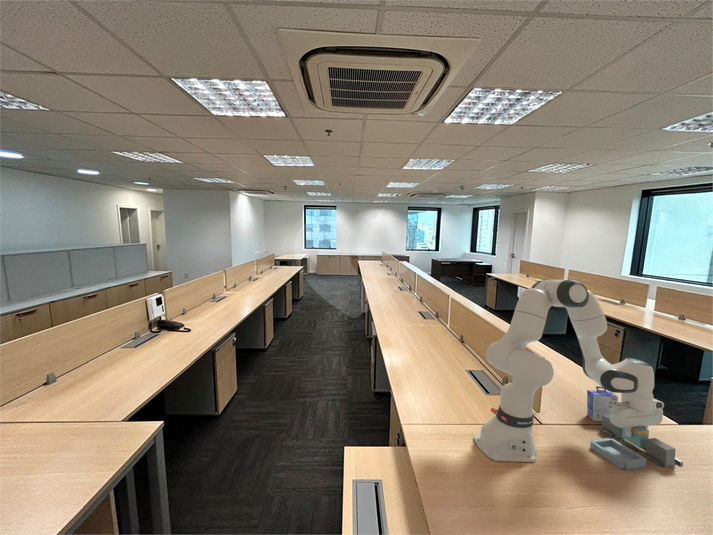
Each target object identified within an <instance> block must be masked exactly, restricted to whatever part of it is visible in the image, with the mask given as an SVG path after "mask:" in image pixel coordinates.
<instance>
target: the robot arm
mask: <svg viewBox="0 0 713 535" xmlns="http://www.w3.org/2000/svg"><path fill="white" fill-rule="evenodd" d="M551 307H555V308H556V307H557V308H565V309H566V311H567V314H568V317H569V319H570V320H569V321H570V323H571V325H572V328H573V329H574V331H575V334H576V337H577V341H578V344H579V347H580V351H581V355H582V365H581V368H582V371H583V373H584V375H585V376H586V377H587V378H589V379H590V380H591V381H594V382H595V383H597V385H599V387H603V388H604V389H606V391H607V392H612V393H613V394H615V393H616V394H617V393H618V394H620V395H621V396H620V401H618V402H617V403H616V404H615V405H614V406H613V407H612V410H611V415H610V422H611V423H612V424H613V425H615V426H617V427H619V428H624V429H625V434H626V435H627V436H628V437H633V434H634V433H633V432H631V429H632V427H636V426H642V427H644V428H646V429H648V428H649V426H654V425H660V424H661V423H662V421H663V419H664V418H663V416H664V410H663V409H664V407H665V403H664V402H663V401H661V400H658V399H657V398H654V394H653V390H654V388H655V374H654V369H653V367H652V366H651V365H650V364H649V363H647V362H645V361H643V360H641V359H640V360H639V359H636V358H633V357H632V358H631V357H625V359H624V360H622V361H620V362H619V361H618V362H616V363H613V364H612V363H610V362H609V361H608V360H607V359H606V358H604V356H603V355H602V352H601V349H600V346H599V342H598V339H597V338H598V337H600V336H602V335H604V334H605V333H606V332H607V330H608V322H607V318H606V316H605V313H604V311H603V309H602V307H601V304H600V302H599V301H598V299H597V297H596V296H595V294H594V293H593V292H592V291H591V290H588V288H587V287H586V286H585V285H584V283H582V282H581V281H578V280H575V279H556V278H555V279H554V278H553V279H547V280H546V279H544V280H543V279H542V280H540V281H536V282H535V283H534V284H533V285H532V286H531V288H527V289H524V290H523V291H522V293H521V294H520V297H519V299H518V300H517V303H516V306H515V309H514V312H513V316H512V318H511V322H510V324H509V326H508V329H507V330H506V332H505V334H504V335H503V336H502V337H501V338H500V339H499V340H497V341H494V342H492V343H491V344H489V345H488V347H487V348H486V351H485V358H486V360H487V362H488V363H489V364H490V365H491V366H493V367H494V368H495V369H497V370H499V371H502V372H504V373H506V374H508V375H510V376H511V378H512V379H511V380H512V381H511V382H509V383H506V384H504V385H503V386H502V387H501V389H500V398H499V399H500V401H499V402H500V403H499V406H498V409H496V407H495V406H492V407H491V408H490V411H491V413H493V414H494V415H495V416H494V417H492V418H491V419H489V420H488V421H487V422H486V423H484V424H483V425H482V426H481V429H480V433H478V434H475V435H473V436H474V437H473V438H474V439H473V440H474V443H475V444H477V445H476V446H477V447H478V449H479V450H480V451H481V452H482V453H484V455H485V456H487V457H488V458H489V459H491V460H493V461H495V462H517V463H518V462H521V463H522V462H526V463H535V462H536V455H537V447H536V442H535V439H534V438H535V437H534V430H533V426H534V422H535V420H534V413H533V404H534V396H535V394H536V391H537V390H538V389H540V388H541V387H544V386H546V385H548V384H550V383H551V381H552V380H553V378H554V373H555V372H554V367H553V365H552V363H551V362H550V361H549V360H548V359H546V358H545V357H542V356H541V355H539V354H536V353H534V352H531V351H528V350H525V348H526V346H527V345H528V344H530V343H533V342H537V341H540V339H541V338H542V337H543V332H544V329H545V326H546V322H547V317H548V313H549V310H550V308H551ZM604 389H603V390H604Z"/></svg>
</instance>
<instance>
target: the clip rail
mask: <svg viewBox="0 0 713 535" xmlns="http://www.w3.org/2000/svg"><path fill="white" fill-rule="evenodd" d="M600 432H602V433H603V434H605V435H607V436H608V437H610V438H615V437H614V434H613V433H612V432H610V431H608V430H607V429H605V428H603V427H602V426H601V427H600ZM620 443H621V444H622V445H624V446H626V447H627V448H629V449H631V450H632V451H634V452H635V451H637V446H636V445H634V444H632V443H631V442H629V441H627V440H626V439H624V438H622V439H621V442H620ZM643 448H644V449H645V450H646V447H643ZM644 458H646V460H647V461H650V462H651V463H653V464H655V465H656V466H658V467H663V466H662V462H661V461H659V460H658V459H656V458H654V457H653V456H651V455H649V454H647V453H646V452H645V453H644ZM675 464H678V465H679V466H683V464H684V461H682V460H680V459H679V458H677V457H675Z"/></svg>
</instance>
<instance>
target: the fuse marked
mask: <svg viewBox="0 0 713 535" xmlns="http://www.w3.org/2000/svg"><path fill="white" fill-rule="evenodd" d="M631 432H633V433H634V434H633V437H628V436H627V435H626V434H625V429H624V428H623V429H622V438H621V439H624V440H625V441H627V442H629V443H630V444H632V445H634V446H635V447H636V448H637V447H638V448H644V447H646V439H649V434H650V430H649V429H648V428H647V429H646V428H644V427H642V426H636V427H632V429H631Z"/></svg>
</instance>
